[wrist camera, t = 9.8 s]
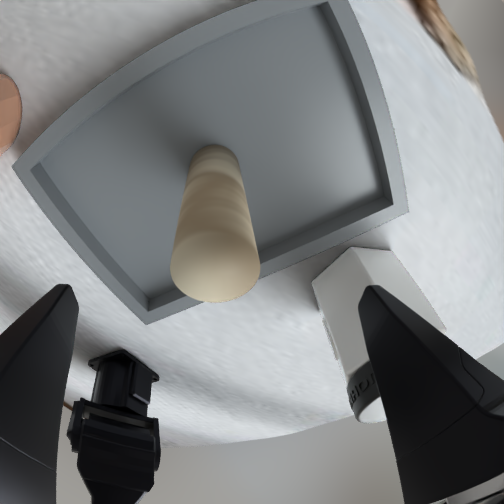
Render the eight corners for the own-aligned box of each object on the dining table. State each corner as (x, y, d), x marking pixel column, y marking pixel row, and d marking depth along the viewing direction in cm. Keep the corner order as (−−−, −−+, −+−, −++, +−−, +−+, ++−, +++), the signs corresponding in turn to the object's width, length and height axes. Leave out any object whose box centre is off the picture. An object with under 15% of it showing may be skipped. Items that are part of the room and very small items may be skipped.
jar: (302, 262, 23) (352, 399, 13) (392, 229, 22) (475, 339, 13) (321, 326, 28) (357, 433, 19) (393, 297, 27) (445, 394, 18)
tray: (149, 307, 24) (146, 325, 23) (26, 156, 15) (11, 166, 13) (396, 199, 20) (408, 212, 19) (325, -13, 11) (337, -20, 10)
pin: (204, 197, 18) (200, 312, 11) (180, 159, 17) (152, 258, 9) (247, 177, 18) (274, 282, 10) (225, 136, 16) (235, 217, 8)
